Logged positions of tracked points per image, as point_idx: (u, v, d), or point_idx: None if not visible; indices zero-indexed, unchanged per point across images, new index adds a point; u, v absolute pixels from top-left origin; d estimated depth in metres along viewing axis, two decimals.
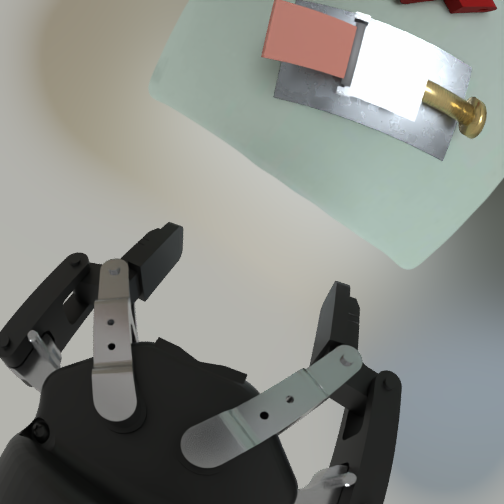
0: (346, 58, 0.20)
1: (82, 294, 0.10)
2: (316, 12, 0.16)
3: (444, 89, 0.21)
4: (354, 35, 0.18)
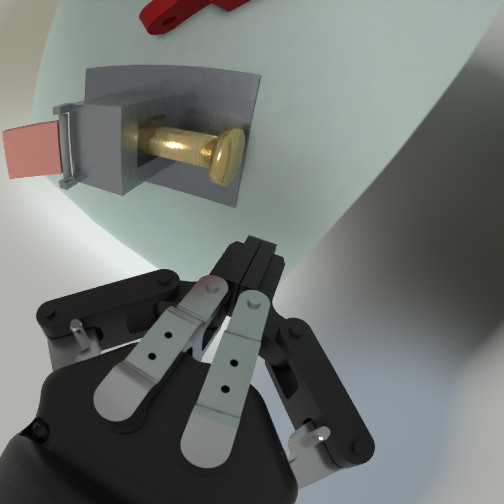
0: (57, 155, 0.22)
1: (158, 312, 0.10)
2: (25, 128, 0.19)
3: (176, 135, 0.24)
4: (56, 131, 0.20)
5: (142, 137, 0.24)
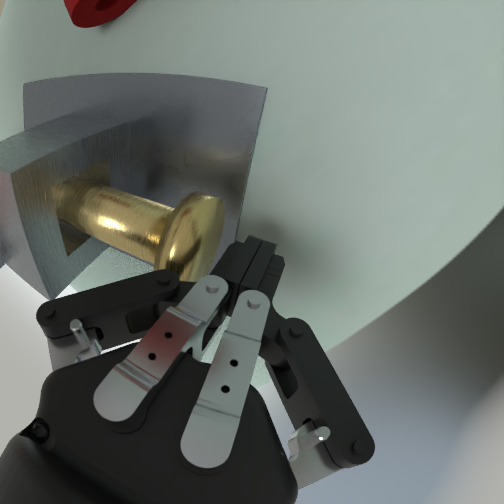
0: None
1: (158, 312, 0.10)
2: None
3: (104, 206, 0.13)
4: None
5: (61, 204, 0.14)
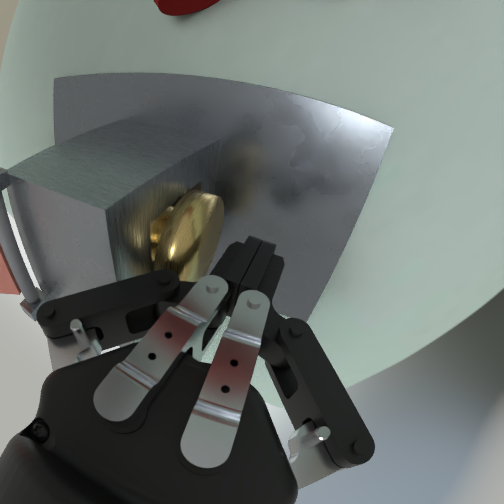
0: (4, 268, 0.11)
1: (158, 312, 0.10)
2: None
3: None
4: None
5: None
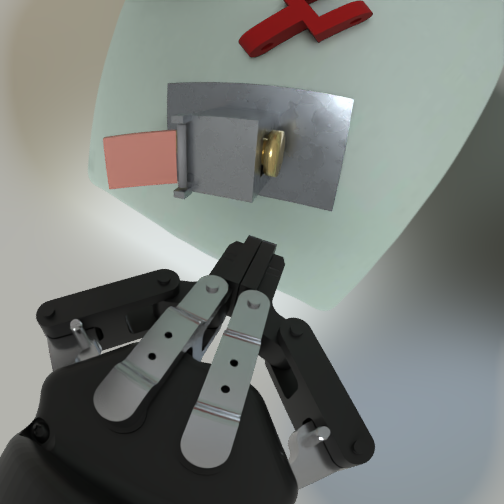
0: (174, 164, 0.28)
1: (158, 312, 0.10)
2: (135, 136, 0.25)
3: None
4: (175, 140, 0.26)
5: None
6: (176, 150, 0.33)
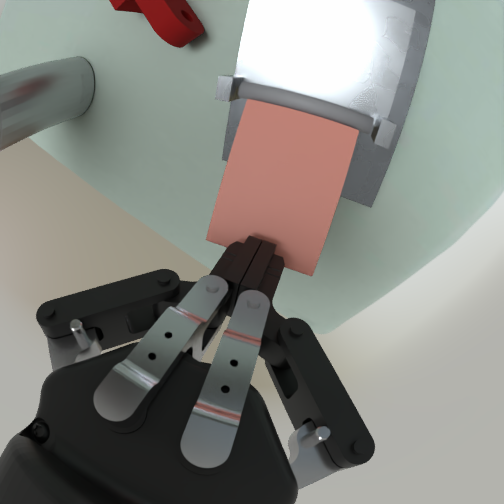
0: (317, 121, 0.12)
1: (158, 312, 0.10)
2: (227, 174, 0.14)
3: None
4: (266, 103, 0.13)
5: None
6: None
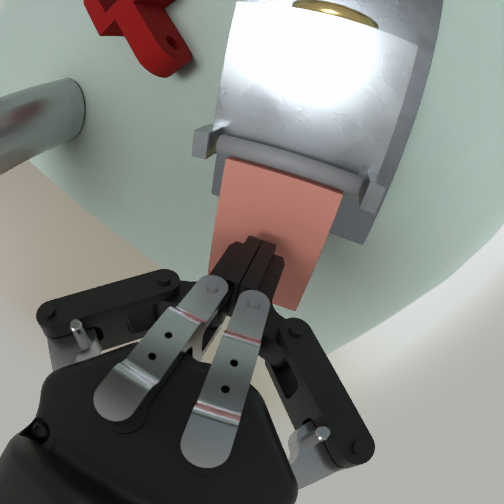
0: (298, 185, 0.13)
1: (158, 312, 0.10)
2: (216, 231, 0.16)
3: None
4: (245, 165, 0.13)
5: None
6: None
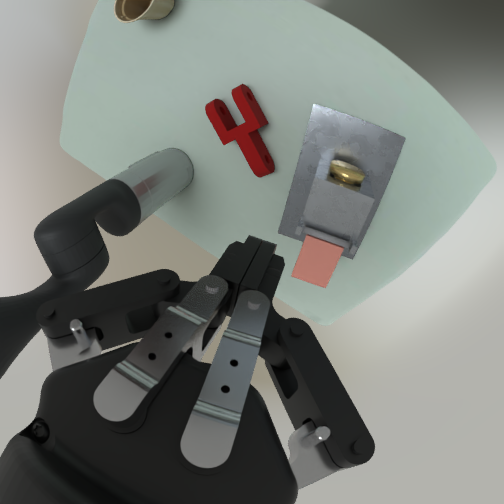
0: (329, 245, 0.40)
1: (158, 312, 0.10)
2: (299, 258, 0.43)
3: None
4: (313, 238, 0.40)
5: None
6: None
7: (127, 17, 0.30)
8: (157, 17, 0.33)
